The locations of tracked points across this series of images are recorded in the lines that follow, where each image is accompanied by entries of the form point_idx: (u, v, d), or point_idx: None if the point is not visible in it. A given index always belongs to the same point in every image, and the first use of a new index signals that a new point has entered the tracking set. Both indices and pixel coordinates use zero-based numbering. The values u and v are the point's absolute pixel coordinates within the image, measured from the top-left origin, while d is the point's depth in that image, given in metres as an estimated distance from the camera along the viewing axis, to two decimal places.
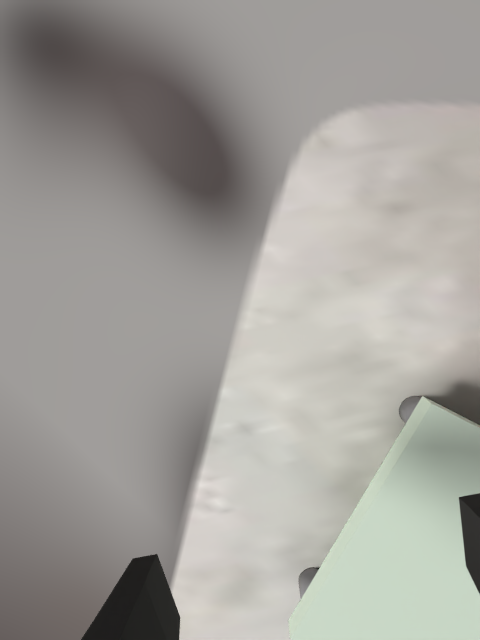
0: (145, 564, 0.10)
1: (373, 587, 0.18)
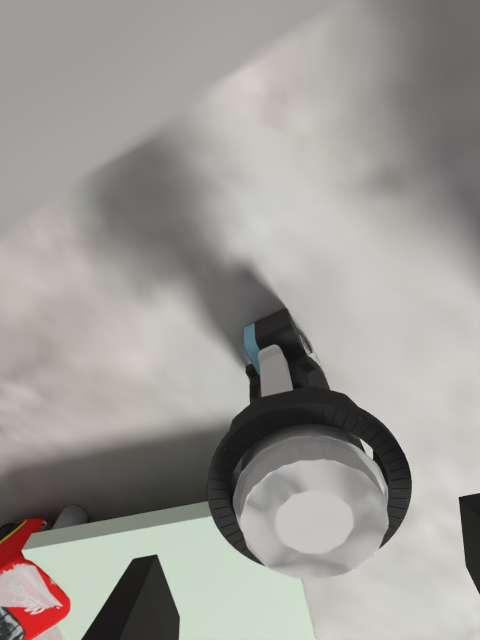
0: (145, 564, 0.10)
1: None
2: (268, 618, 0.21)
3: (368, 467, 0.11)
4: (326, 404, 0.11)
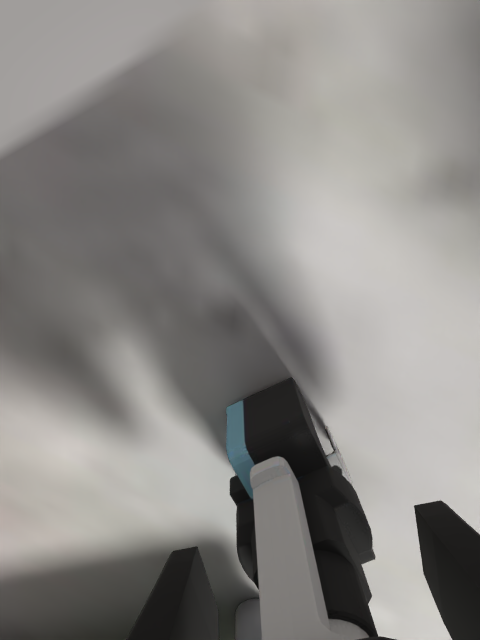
0: (187, 556, 0.10)
1: None
2: None
3: None
4: None
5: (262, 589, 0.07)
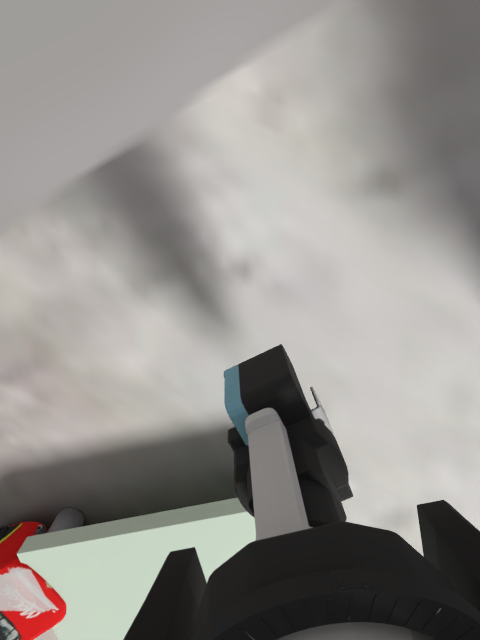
0: (184, 557, 0.10)
1: None
2: None
3: None
4: (379, 591, 0.06)
5: (256, 504, 0.09)
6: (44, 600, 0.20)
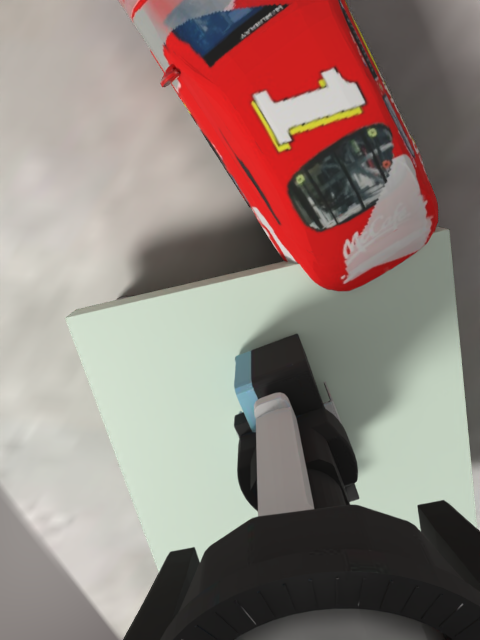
0: (184, 557, 0.10)
1: (191, 514, 0.16)
2: None
3: None
4: (395, 576, 0.05)
5: (260, 485, 0.08)
6: (365, 265, 0.13)
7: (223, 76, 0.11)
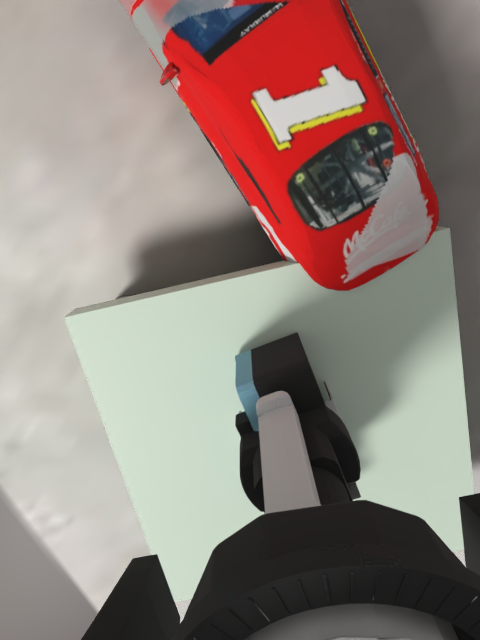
0: (146, 564, 0.10)
1: (191, 514, 0.16)
2: None
3: None
4: (410, 569, 0.05)
5: (266, 483, 0.08)
6: (366, 264, 0.13)
7: (223, 74, 0.11)
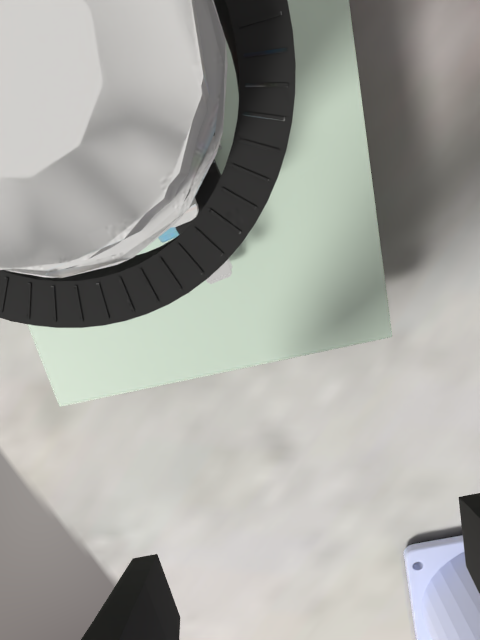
0: (145, 564, 0.10)
1: None
2: (200, 323, 0.15)
3: None
4: None
5: None
6: None
7: None
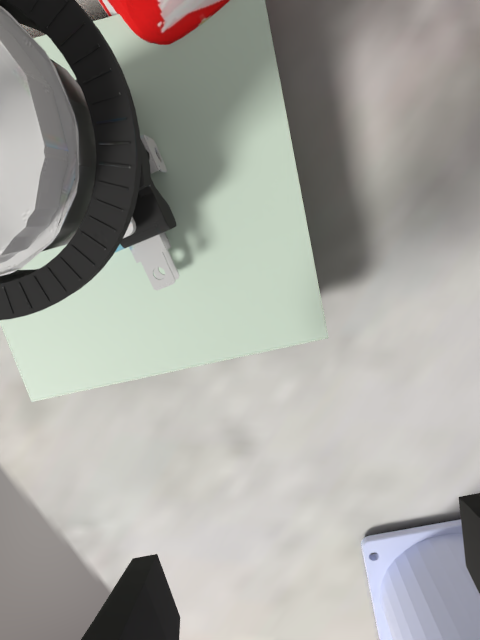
0: (145, 564, 0.10)
1: None
2: (154, 326, 0.16)
3: (36, 67, 0.06)
4: None
5: None
6: (180, 10, 0.13)
7: None
